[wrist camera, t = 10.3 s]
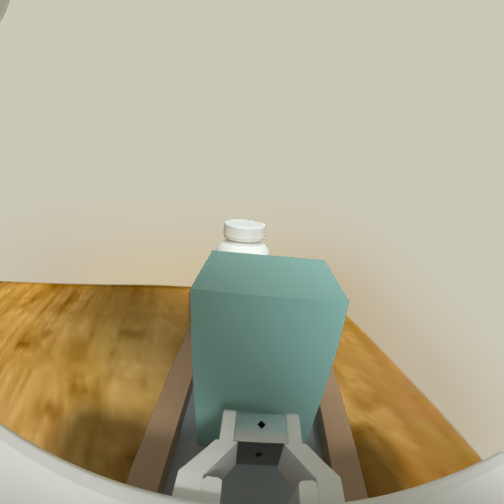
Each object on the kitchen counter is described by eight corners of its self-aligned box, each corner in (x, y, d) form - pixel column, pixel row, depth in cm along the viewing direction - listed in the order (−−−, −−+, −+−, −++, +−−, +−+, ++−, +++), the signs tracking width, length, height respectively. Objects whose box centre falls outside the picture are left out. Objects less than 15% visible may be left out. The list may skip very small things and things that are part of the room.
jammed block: (197, 443, 13) (190, 288, 10) (210, 388, 18) (212, 250, 15) (302, 450, 13) (349, 301, 10) (296, 394, 18) (324, 260, 15)
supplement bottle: (240, 330, 27) (248, 232, 24) (202, 310, 30) (205, 221, 27) (273, 312, 31) (283, 225, 28) (236, 296, 34) (242, 216, 31)
